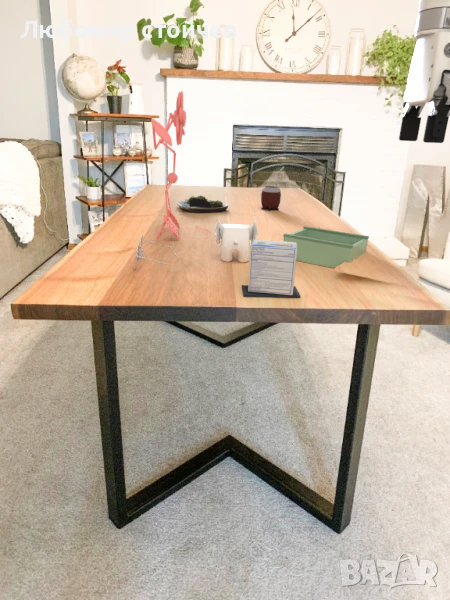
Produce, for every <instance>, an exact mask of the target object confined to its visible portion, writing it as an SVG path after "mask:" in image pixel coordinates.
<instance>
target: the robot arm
mask: <svg viewBox="0 0 450 600" xmlns="http://www.w3.org/2000/svg"><path fill="white" fill-rule="evenodd" d="M417 10H418V11H417V17H416V23H415V29H414V33H413V34H414V36H413V39H414V40H416V42H415V46H414V50H413V53H412V58H411V62H410V67H409V71H408V76H407V81H406V88H405V91H404V93H403V101H404V102H403V104H402V107H403V111H402V114H401V117H402V119H401V124H400V129H399V130H400V131H399V135H398V140H399V141H401V142H402V141H403V142H417V141H418V137H419V132H420V127H421V121H422V117H420V115H421V114H422V111H423V109H424V107H425V106H426V104H427V106H428V107H429V112H430V115H427V118H426V122H425V127H424V128H425V129H424V134H423V139H422V141H423V143H429V144H430V143H431V144H443V143H444V142H445V137H446V134H447V128H448V123H449V118H450V0H419V5H418V9H417Z"/></svg>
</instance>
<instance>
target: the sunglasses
mask: <svg viewBox="0 0 450 600" xmlns="http://www.w3.org/2000/svg"><path fill="white" fill-rule="evenodd" d="M139 241H140V242H139V243H138V244H137V246H136V253H135V254H134V255H135V259H134V265H133V268H134V269H133V270H134V271H135V270H136V267H137V264H138V263H137V262H138V260H141V259H145V260H149V261H153V262H158V263H160V261H159V260H155V259H151V258H148V257H144V256H143V255H144V252H145V249H142V245H143V241H147V242H151V243H153V244H156V243H157V244H158V245H162V246H165V247H169V248H171V249H172V250H173V252H174V254H175V256H176V257H177V256H178V254H177V252H176V251H175V249H174V248H173V247H172V246H171V245H168V244H163V243H160V242H156V241H153V240H149V239H145V238H144V236H143V235H141V236H140V240H139ZM161 263H162V264H165V265H169V266H170V267H171V268H172V270H173V272H174V274H177V272H176V270H175V269H174V267H173V266H172V265H171V264H170V263H168V262H163V261H161Z"/></svg>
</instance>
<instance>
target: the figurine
mask: <svg viewBox="0 0 450 600" xmlns="http://www.w3.org/2000/svg"><path fill="white" fill-rule="evenodd" d="M175 103H176V104H175V105H176V106H175V108H176V109H174V112H173V113H172V112H169V114H168V115H169V116H168V119H167V123H166V126H165V127H164V126H163V125H162V124H161V123H160V122H159V121H157V120H155V118H151V119H150V122H151V129H152V140H153V148H154V150H157V149H158V148H159V146H160V144H162V145H163V146H164V147H165V148H167V149H168V151H170V152H172V154H173V163H172V169H173V170H172V172H169V173H168V174H167V176H166V180H167V182H168V183H167V184H166V185H165V190H164V197H165V210H166V211H165V212H166V215H165V214H164V215H163V223H162V225H161V227H160V229H159V231H158V233H157V234H156V238H155V239H157V240H158V239H159V238H160V236H161V234H162V232H163V230H164V228H165V226H167V228H168V229H169V230H170V232H171V233H172V235H174V237H176V239H177V240H179V241H180V239H181V238H180V235H179V233H178V230H180V229H181V227H180V224H179V221H178V219H177V218H176V216H175V214H173V212H172V209H171V202H170V196H169V189H170V187H171V186H172V184H176V183H177V182H178V179H179V178H178V175H177V173H175V172H176V158H177V152H176V150H174V149H173V148H172V147H173V141H172V137H171V135H170V133H169V130H170V128H171V127H172V124H173V126H174V128H175V141H176V145H177V146H179V145H181V144H182V141H183V136H186V133H185V129H184V128H185V126H186V123H187V113H186V110H185V109H184V92H183V90H181V91H179V92H178V94H177V97H176V102H175ZM156 134H157V135H158V137H159V140H158V142H157V138H156ZM176 227H177V229H178V230H177V229H176ZM196 228H199V229H201V230H204V231H207V232H209V229H208V228H203V227H199V226H196ZM213 234H214V232H213V233H212V235H213ZM212 235H211V234H210V235H209V237H206V240H207V239H209V238H210V237H211V236H212ZM149 242H150V241H149ZM150 244H152V242H150ZM155 244H158V242H156V243H155Z"/></svg>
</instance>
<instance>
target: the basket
mask: <svg viewBox="0 0 450 600" xmlns="http://www.w3.org/2000/svg"><path fill="white" fill-rule="evenodd" d="M282 236H283V239H282V241H285V242H296V243H297V256H296V262H302V263H306V264H312V265H317V266H322V267H326V268H331V269H335V268H337V267H339V266H340V265H342V264H344V263H350V262H352V261H353V260H355V259H357V258H359V257H360V256H362V255H363V254H365V253H366V252H367V250H368V249H367V247H368V243H369V238H370V236H369V235H364V234H358V233H352V232H345V231H339V230H332V229H326V228H320V227H313V226H307V225H303V228H302V229H300V230H297V231H294V232H291V233H283V235H282Z"/></svg>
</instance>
